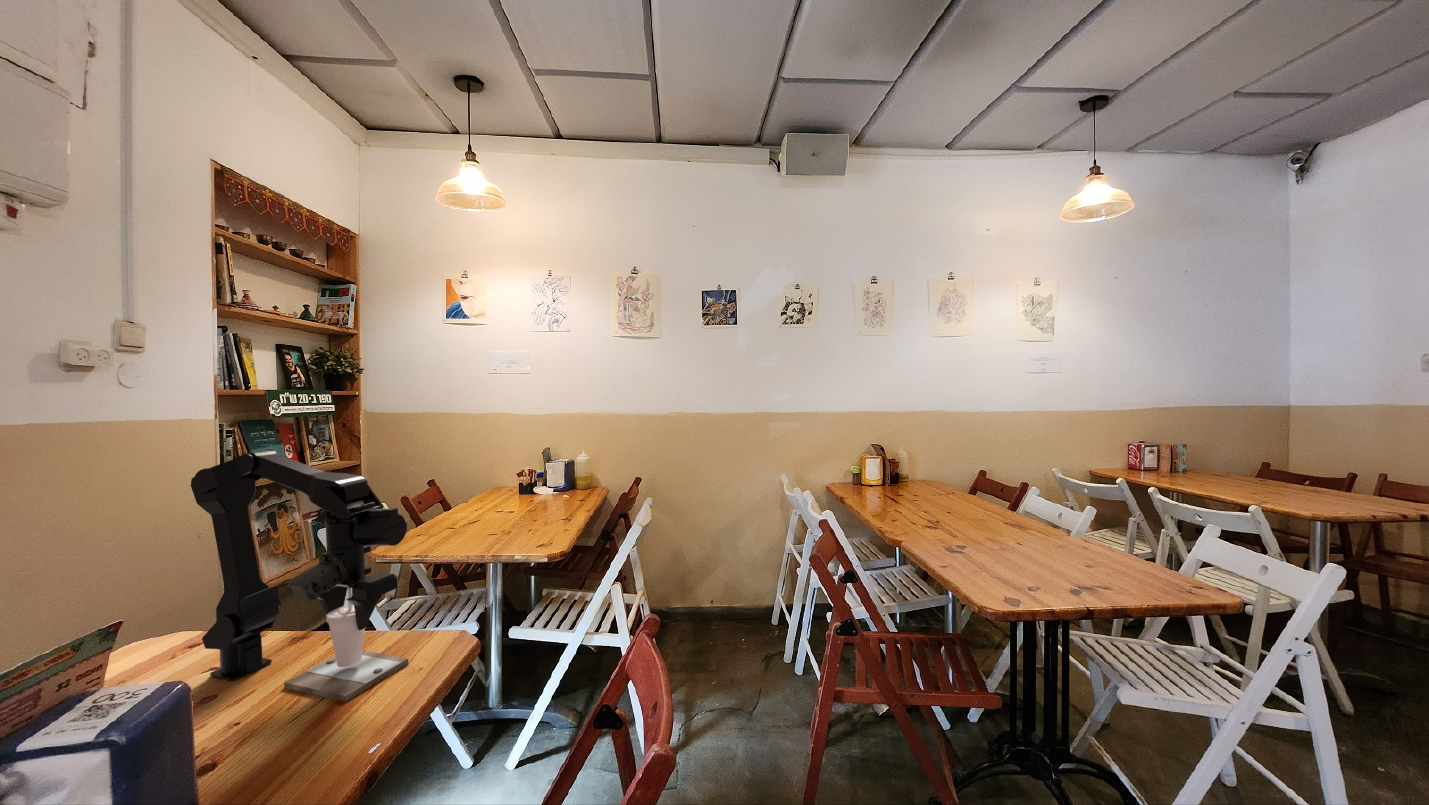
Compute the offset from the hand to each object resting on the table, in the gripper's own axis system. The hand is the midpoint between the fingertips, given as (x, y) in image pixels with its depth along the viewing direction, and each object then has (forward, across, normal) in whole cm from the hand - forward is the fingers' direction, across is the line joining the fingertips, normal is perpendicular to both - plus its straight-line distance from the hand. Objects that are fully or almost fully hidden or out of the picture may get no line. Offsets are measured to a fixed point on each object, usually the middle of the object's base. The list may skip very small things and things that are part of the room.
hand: (348, 627), depth 90 cm
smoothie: (+7, 0, 0) cm, 7 cm away
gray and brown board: (+9, 0, 0) cm, 9 cm away
